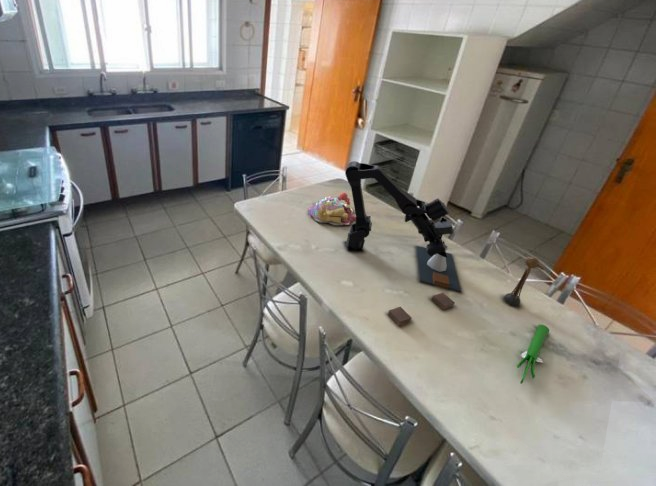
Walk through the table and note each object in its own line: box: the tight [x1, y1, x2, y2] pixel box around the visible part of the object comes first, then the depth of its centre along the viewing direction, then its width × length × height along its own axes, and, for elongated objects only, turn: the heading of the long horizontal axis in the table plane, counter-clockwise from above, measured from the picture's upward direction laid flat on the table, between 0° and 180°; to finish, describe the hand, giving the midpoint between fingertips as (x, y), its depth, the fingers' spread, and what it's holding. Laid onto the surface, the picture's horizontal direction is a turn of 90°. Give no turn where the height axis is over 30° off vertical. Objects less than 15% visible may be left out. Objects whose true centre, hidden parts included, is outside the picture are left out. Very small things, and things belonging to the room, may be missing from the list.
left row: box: [387, 292, 455, 327], centre depth 113 cm, size 5×25×2 cm, turn 112°
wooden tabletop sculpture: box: [503, 256, 546, 308], centre depth 114 cm, size 6×5×20 cm
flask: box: [427, 244, 449, 272], centre depth 132 cm, size 7×7×10 cm
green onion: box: [516, 323, 550, 385], centre depth 98 cm, size 5×3×30 cm
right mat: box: [416, 245, 462, 293], centre depth 133 cm, size 14×25×3 cm, turn 159°
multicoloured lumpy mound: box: [308, 191, 356, 226], centre depth 167 cm, size 25×24×9 cm
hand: (445, 254), depth 130 cm, fingers open, 3 cm apart
